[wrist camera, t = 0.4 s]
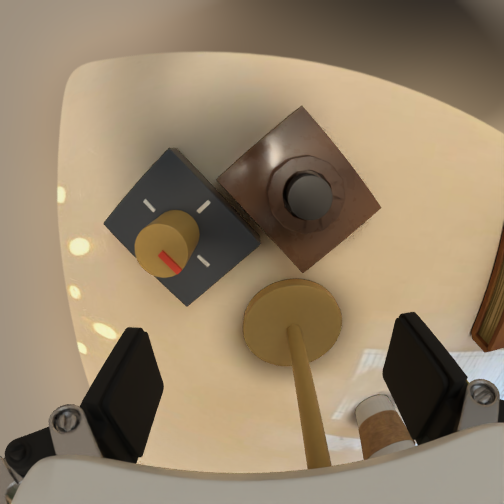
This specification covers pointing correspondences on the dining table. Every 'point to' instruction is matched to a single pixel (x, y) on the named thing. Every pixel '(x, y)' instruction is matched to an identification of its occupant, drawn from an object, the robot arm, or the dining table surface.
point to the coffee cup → (381, 428)
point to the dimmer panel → (197, 206)
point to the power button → (309, 196)
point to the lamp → (296, 346)
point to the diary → (492, 309)
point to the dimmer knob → (167, 243)
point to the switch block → (279, 176)
